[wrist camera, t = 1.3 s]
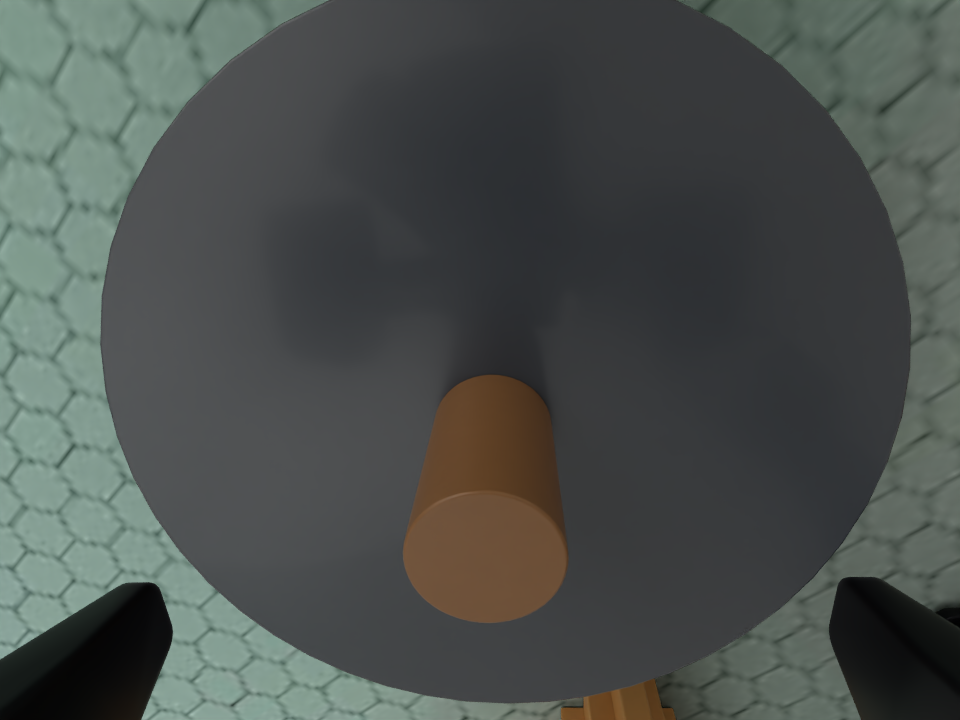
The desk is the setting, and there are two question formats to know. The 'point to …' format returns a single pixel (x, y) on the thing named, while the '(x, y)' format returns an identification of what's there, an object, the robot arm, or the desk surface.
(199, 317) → the pan lid
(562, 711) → the tan stepped block
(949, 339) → the desk surface
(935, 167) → the desk surface
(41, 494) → the desk surface
